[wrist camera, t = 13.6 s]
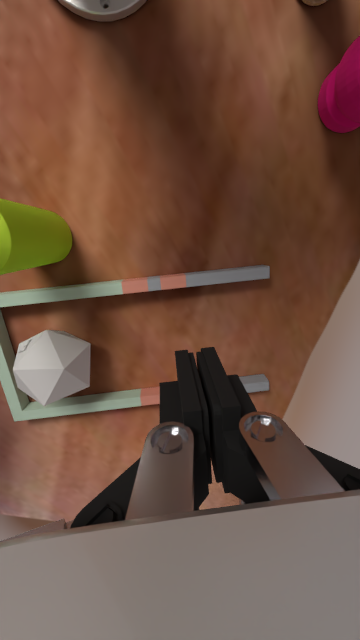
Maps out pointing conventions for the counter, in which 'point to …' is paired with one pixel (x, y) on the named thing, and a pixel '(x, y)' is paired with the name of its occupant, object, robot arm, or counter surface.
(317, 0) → the sprinkles bottle
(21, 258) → the soap dispenser
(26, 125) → the counter surface
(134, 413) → the counter surface
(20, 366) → the die
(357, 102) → the pepper mill
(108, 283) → the track
